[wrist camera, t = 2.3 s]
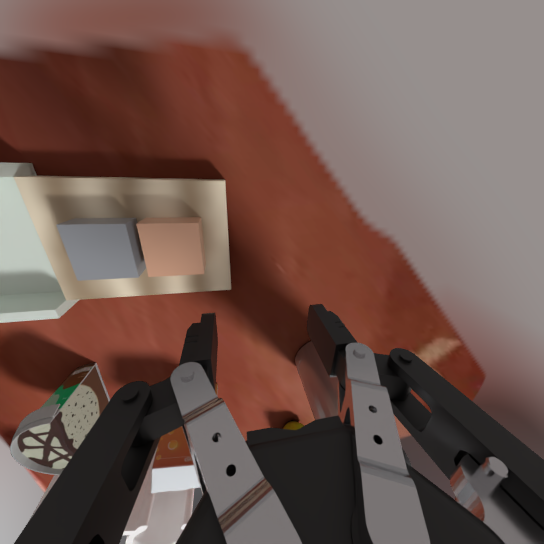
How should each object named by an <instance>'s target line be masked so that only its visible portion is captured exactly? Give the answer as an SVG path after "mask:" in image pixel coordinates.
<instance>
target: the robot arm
mask: <svg viewBox="0 0 544 544" xmlns="http://www.w3.org/2000/svg"><path fill="white" fill-rule="evenodd" d="M307 331H308V334H309V337H310V339H311V341H310V342H308V343H307V344H305V345H304V346H303V347H302V348H301V349H300V350H299V351H298V353H297V355H296V358H295V363H296V366H297V370H298V373H299V375H300V378H301V381H302V384H303V387H304V390H305V393H306V395H307V398H308V401H309V404H310V407H311V410H312V412H313V415H314V418H315V421H313V422H311V423H309V424H307V425H305V426H303V427H302V428H300V429H297V430H290V429H279V428H266V429H260V430H255V431H249V432H247V441H245V440H244V438H243V436H242V434H241V432H240V431H239V429H238V427H237V425H236V423H235V421H234V419H233V417H232V415H231V414H230V412H229V410H228V408H227V406H226V404H225V402H224V401H223V399H222V398H220V399H219V398H218V397H217V395H216V393H215V387H216V367H217V346H218V337H217V326H216V315H215V313H206V314H202V317H201V323H193V324H192V325H191V326H190V327H189V329H188V330H187V334H186V338H185V344H184V347H183V351H182V355H181V359H180V364H179V367H177V368H176V369H175V370H174V371H173V373H172V375H171V377H169V378H168V379H166V380H164V381H162V382H159V383H157V384H154V385H152V386H149V385H148V384H147V383H146V382H143V381H136V382H132V383H129V384H127V385H125V386H123V387H122V388H120V389H119V390H118V391H117V392H116V393H115V394H114V395H113V397H112V398H111V400H110V401H109V403H108V404H107V406H106V407H105V409H104V410H103V412H102V413H101V415H100V416H99V418H98V419H97V421H96V422H95V424H94V425H93V427H92V428H91V430H90V431H89V433H88V434H87V436H86V437H85V439H84V440H83V442H82V443H81V444H80V446H79V447H78V449H77V450H76V452H75V453H74V455H73V456H72V458H71V459H70V461H69V462H68V464H67V465H66V467H65V468H64V470H63V471H62V473H61V474H60V476H59V477H58V479H57V480H56V482H55V483H54V485H53V486H52V488H51V489H50V491H49V492H48V494H47V495H46V497H45V498H44V500H43V501H42V503H41V504H40V506H39V507H38V509H37V510H36V512H35V513H34V515H33V516H32V518H31V519H30V521H29V522H28V524H27V525H26V527H25V528H24V530H23V531H22V533H21V534H20V536H19V537H18V539H17V540H16V542H15V543H14V544H119V543H120V540H121V537H122V535H123V532H124V530H125V527H126V525H127V522H128V520H129V517H130V515H131V512H132V509H133V507H134V504H135V502H136V499H137V497H138V494H139V491H140V489H141V486H142V484H143V481H144V479H145V476H146V474H147V471H148V468H149V466H150V463H151V461H152V458H153V456H154V453H155V451H156V448H157V445H158V443H159V440H160V438H161V436H163V435H165V434H167V433H169V432H171V431H173V430H175V429H177V428H179V427H181V426H182V428H183V432H184V435H185V438H186V441H187V444H188V447H189V450H190V454H191V457H192V460H193V463H194V467H195V471H196V474H197V478H198V481H199V484H200V487H201V490H202V493H203V496H202V498H201V500H200V502H199V503H198V505H197V507H196V509H195V510H194V512H193V514H192V516H191V517H190V519H189V521H188V523H187V524H186V526H185V528H184V530H183V531H182V533H181V535H180V537H179V538H178V540H177V542H176V544H544V460H543V459H542V458H541V457H539V456H538V455H537V454H536V453H534V452H533V451H532V450H531V449H530V448H528V447H527V446H526V445H525V444H523V443H522V442H521V441H520V440H519V439H517V438H516V437H515V436H514V435H512V434H511V433H510V432H509V431H508V430H506V429H505V428H504V427H503V426H501V425H500V424H499V423H498V422H497V421H495V420H494V419H493V418H492V417H491V416H489V415H488V414H487V413H486V412H484V411H483V410H482V409H481V408H479V407H478V406H477V405H476V404H475V403H473V402H472V401H471V400H470V399H469V398H467V397H466V396H465V395H464V394H462V393H461V392H460V391H459V390H458V389H456V388H455V387H454V386H453V385H451V384H450V383H449V382H448V381H447V380H445V379H444V378H443V377H442V376H440V375H439V374H438V373H437V372H436V371H434V370H433V369H432V368H431V367H430V366H428V365H427V364H426V363H425V362H423V361H422V360H421V359H420V358H419V357H417V356H416V355H415V354H413V353H412V352H410V351H408V350H405V349H401V348H395V349H393V350H391V352H390V355H383V354H376V353H373V351H372V350H371V349H370V348H369V347H367V346H366V345H364V344H361V343H357V341H356V340H355V339H354V337H353V336H352V335H351V333H350V332H349V331H348V329H347V328H346V327H345V325H344V324H343V323H342V321H341V320H340V319H339V317H338V316H337V315H336V314H334V313H333V312H331V311H327V310H326V309H325V307H324V306H323V305H322V304H316V305H310V306H309V312H308V320H307ZM411 389H412V390H413V391H414V392H416V393H417V394H418V395H419V396H420V397H421V398H422V399H423V400H424V401H425V402H426V403H427V404H428V406H429V407H430V409H431V412H432V414H431V413H430V412H429V411H428V410H427V409H426V408H425V407H424V406H423V405H422V404H421V403H420V402H419V401H418V400H417V399H416V398H415V397H414V396H413V395H412V394H411V393H410V391H411ZM394 415H395V416H396V417H397V418H398V420H399V421H400V422H401V423H402V424H403V425H404V427H405V428H406V429H407V430H408V431H409V433H410V434H411V435H412V436H413V437H414V438H415V440H416V441H417V442H418V443H419V444H420V445H421V447H422V448H423V449H424V450H425V452H426V453H427V454H428V455H429V456H430V457H431V459H432V460H433V461H434V462H435V463H436V465H437V466H438V467H439V468H440V469H441V470H442V472H443V473H444V474H445V475H446V476H447V478H448V479H449V480H450V484H451V487H452V489H453V492H454V493H455V495H456V496H455V500H456V501H455V500H454V499H453V498H451V497H450V496H449V495H447V494H446V493H445V492H444V491H442V490H441V489H440V488H438V487H437V486H436V485H435V484H433V483H432V482H431V481H429V480H428V479H427V478H425V477H424V476H423V475H421V474H420V473H419V472H418V471H416V470H415V469H414V468H412V467H411V463H410V461H409V458H408V457H407V455H406V453H405V451H404V450H403V448H402V447H401V443H400V439H399V435H398V431H397V427H396V423H395V419H394Z"/></svg>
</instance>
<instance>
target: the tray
mask: <svg viewBox="0 0 544 544" xmlns="http://www.w3.org/2000/svg"><path fill="white" fill-rule="evenodd" d="M18 176H37V175H36V172H35V170H34V167H33V164H32V163H7V162H0V323H3V322H16V321H29V320H42V319H55V318H60V317H61V316H62V315H63V314H64V313H65V312H66V311H68V310H69V309H70V308H71V307H72V306H73V305H74V304H75V303H76V302H77V301H79V300H80V299H79V300H66V299H65V296H64V294H63V292H62V289H61V287H60V285H59V282H58V280H57V278H56V275H55V273H54V271H53V268H52V266H51V264H50V261H49V259H48V257H47V254H46V252H45V250H44V247H43V245H42V243H41V240H40V238H39V236H38V233H37V231H36V229H35V226H34V224H33V222H32V219H31V217H30V215H29V212H28V210H27V208H26V205H25V203H24V201H23V198H22V196H21V194H20V191H19V189H18V187H17V184H16V182H15V180H14V177H18Z"/></svg>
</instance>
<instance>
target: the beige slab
mask: <svg viewBox="0 0 544 544" xmlns="http://www.w3.org/2000/svg"><path fill="white" fill-rule="evenodd" d="M14 180H15V182H16V184H17V187H18V189H19V191H20V194H21V196H22V198H23V201H24V203H25V205H26V208H27V210H28V212H29V215H30V217H31V219H32V222H33V224H34V226H35V229H36V231H37V233H38V236H39V238H40V240H41V243H42V245H43V247H44V250H45V252H46V254H47V257H48V259H49V261H50V264H51V266H52V268H53V271H54V273H55V275H56V278H57V280H58V282H59V285H60V287H61V289H62V292H63V294H64V296H65V299H66V300H79V299H95V298H110V297H125V296H141V295H156V294H171V293H187V292H202V291H217V290H231V274H230V256H229V239H228V221H227V203H226V185H225V180H221V179H174V178H127V177H80V176H18V177H14ZM161 217H201V221H202V230H203V240H204V249H205V259H206V267H205V272H204V274H197V275H178V276H159V277H148V272H147V268H146V269H145V270H144V272H143V273H142V274H141V275H140V277H139V278H120V279H101V280H82V281H78V280H77V278H76V275H75V273H74V270H73V267H72V265H71V262H70V260H69V257H68V255H67V252H66V249H65V247H64V244H63V242H62V239H61V236H60V234H59V231H58V229H57V226H56V225H57V224H60V223H62V222H65V221H68V220H71V219H74V218H136V219H137V223H138V222H140V221H141V220H143V219H144V218H161Z"/></svg>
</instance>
